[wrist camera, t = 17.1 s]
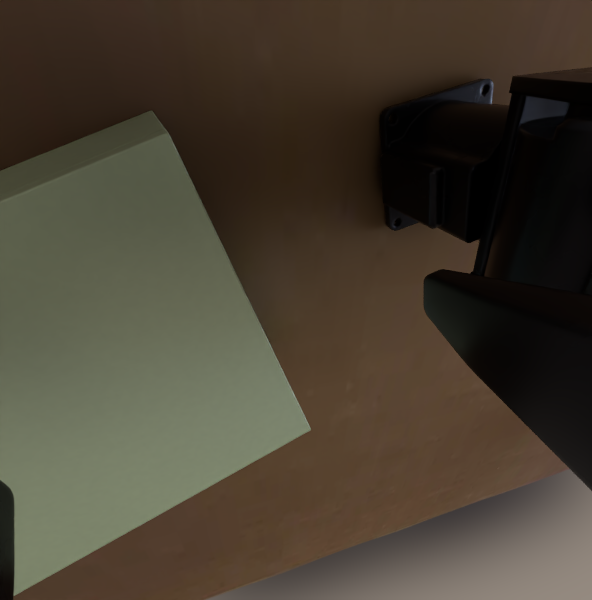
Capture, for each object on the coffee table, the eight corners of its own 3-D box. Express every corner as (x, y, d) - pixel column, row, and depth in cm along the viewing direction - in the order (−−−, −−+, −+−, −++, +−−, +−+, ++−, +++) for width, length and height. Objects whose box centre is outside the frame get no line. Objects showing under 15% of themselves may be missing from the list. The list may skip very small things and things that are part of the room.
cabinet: (3, 486, 21) (-36, 624, 16) (-310, 294, 13) (-611, 453, 7) (269, 349, 23) (311, 430, 18) (152, 109, 15) (168, 131, 10)
